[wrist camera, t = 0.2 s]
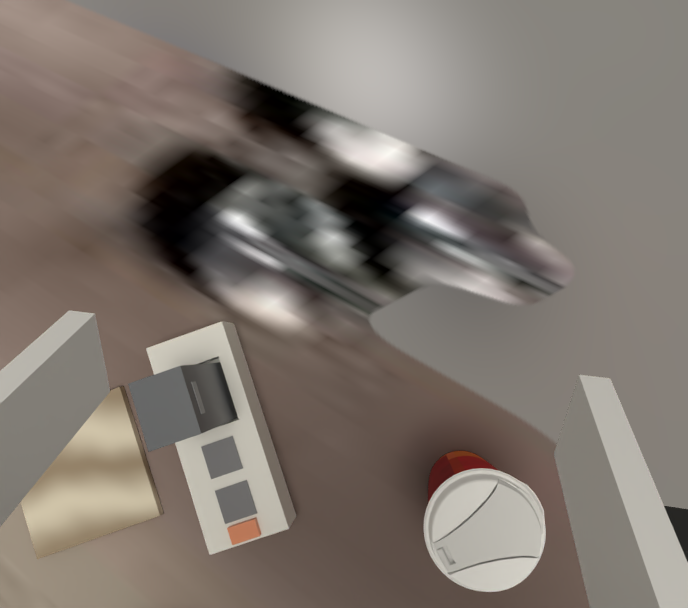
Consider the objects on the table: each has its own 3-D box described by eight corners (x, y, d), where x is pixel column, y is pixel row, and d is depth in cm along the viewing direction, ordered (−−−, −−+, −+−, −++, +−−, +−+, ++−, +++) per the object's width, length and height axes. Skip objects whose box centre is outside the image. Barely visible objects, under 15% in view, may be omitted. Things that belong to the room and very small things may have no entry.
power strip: (297, 514, 51) (287, 531, 46) (224, 538, 51) (207, 557, 46) (235, 323, 52) (219, 321, 48) (164, 348, 53) (143, 348, 48)
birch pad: (163, 513, 51) (159, 515, 50) (42, 555, 52) (37, 559, 51) (123, 386, 52) (119, 386, 52) (6, 429, 53) (0, 431, 52)
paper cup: (443, 544, 49) (462, 622, 35) (400, 462, 50) (402, 507, 36) (524, 502, 48) (576, 564, 35) (480, 421, 49) (513, 450, 35)
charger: (240, 416, 50) (201, 433, 40) (197, 431, 50) (147, 451, 40) (223, 361, 50) (180, 365, 40) (180, 376, 50) (127, 384, 41)
